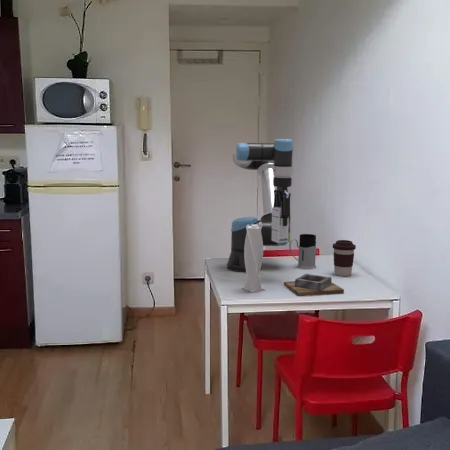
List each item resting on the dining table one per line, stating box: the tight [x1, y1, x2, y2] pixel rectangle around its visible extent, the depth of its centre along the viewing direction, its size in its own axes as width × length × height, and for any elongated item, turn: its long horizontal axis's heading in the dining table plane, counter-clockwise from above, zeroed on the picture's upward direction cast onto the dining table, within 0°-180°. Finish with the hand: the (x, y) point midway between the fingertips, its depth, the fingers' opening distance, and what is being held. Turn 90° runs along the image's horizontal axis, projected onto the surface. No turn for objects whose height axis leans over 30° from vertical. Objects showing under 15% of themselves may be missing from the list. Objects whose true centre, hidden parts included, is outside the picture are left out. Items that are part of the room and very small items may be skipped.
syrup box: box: [272, 207, 292, 243], centre depth 238 cm, size 6×6×14 cm
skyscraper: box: [241, 222, 266, 293], centre depth 224 cm, size 8×8×28 cm
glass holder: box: [288, 233, 317, 270], centre depth 264 cm, size 9×14×15 cm, turn 117°
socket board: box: [283, 273, 345, 297], centre depth 228 cm, size 16×19×4 cm
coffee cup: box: [332, 239, 357, 277], centre depth 252 cm, size 10×10×15 cm
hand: (280, 231), depth 239 cm, fingers closed on syrup box, 6 cm apart
